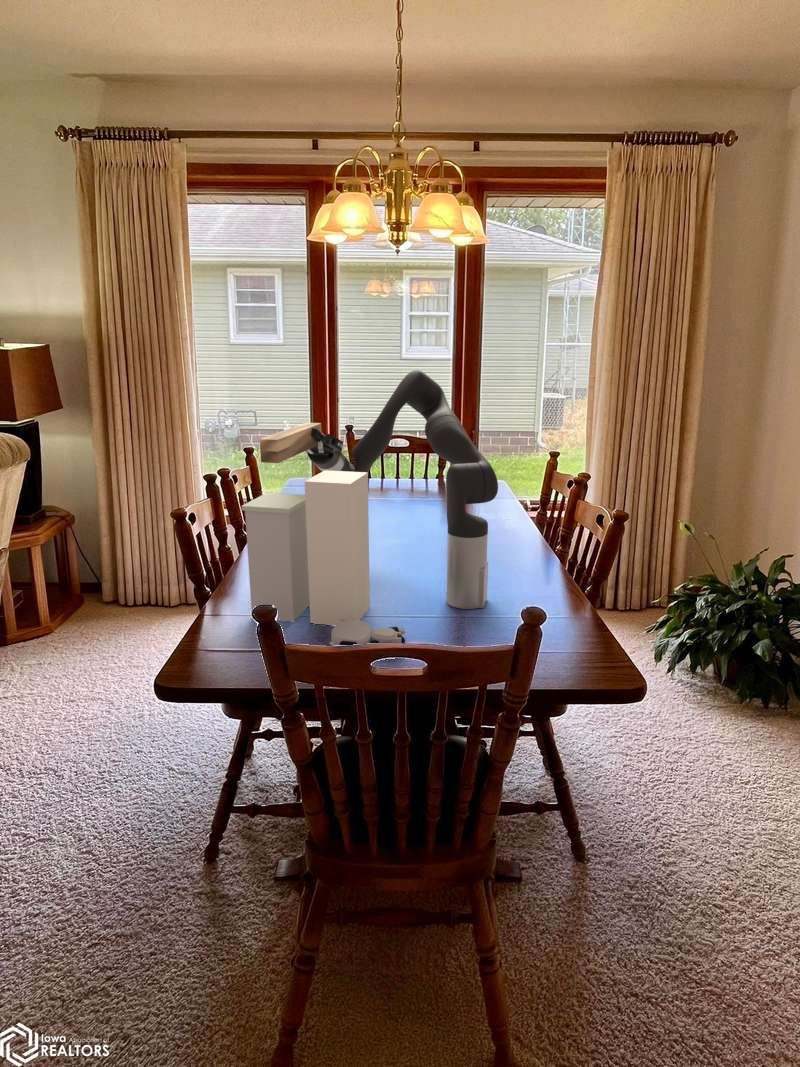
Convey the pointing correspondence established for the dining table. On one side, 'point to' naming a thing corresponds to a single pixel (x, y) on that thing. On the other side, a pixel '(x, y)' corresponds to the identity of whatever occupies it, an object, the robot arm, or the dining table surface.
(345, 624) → the robot toy
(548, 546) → the dining table surface
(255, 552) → the low stand
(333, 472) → the tall stand
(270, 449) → the wooden bar
